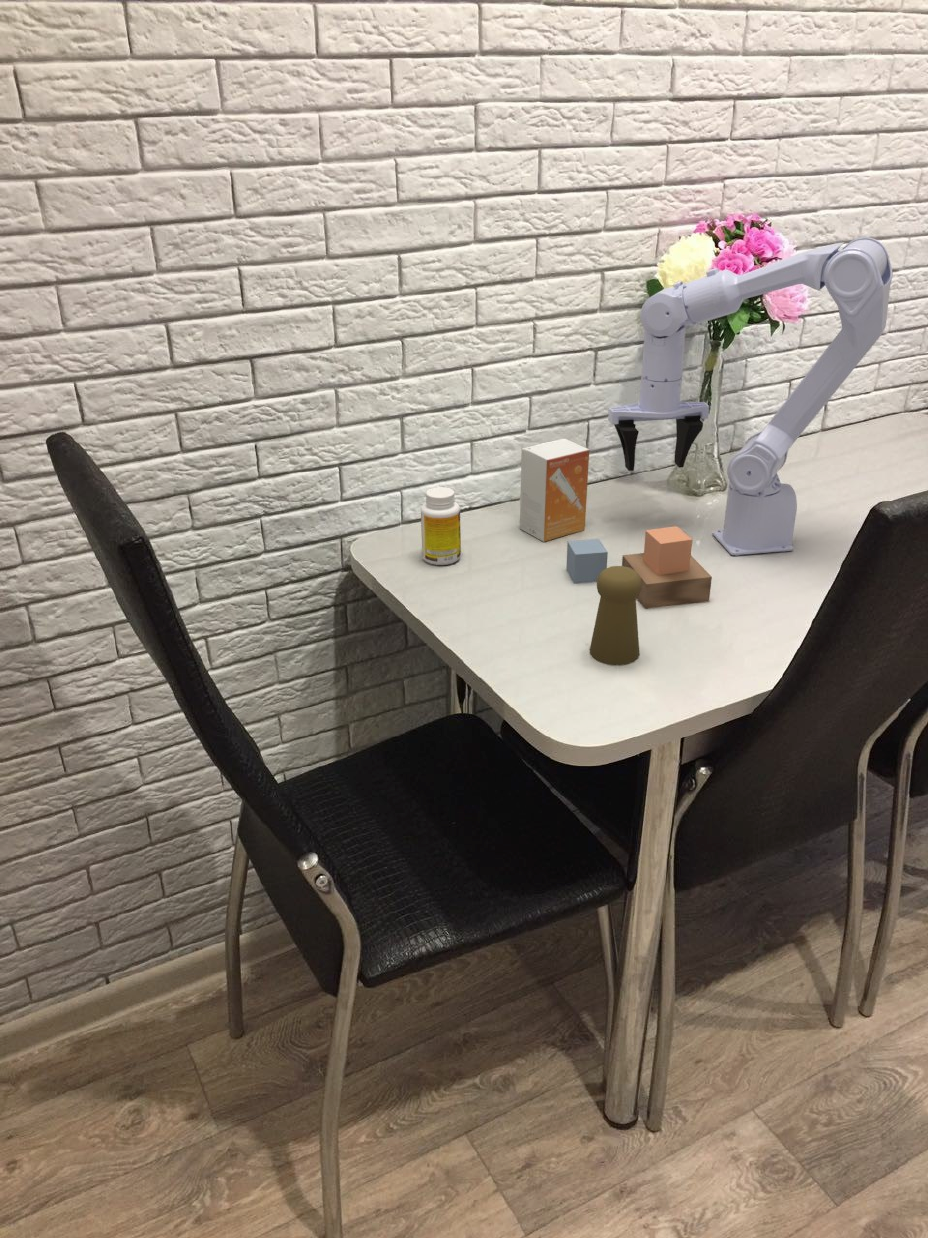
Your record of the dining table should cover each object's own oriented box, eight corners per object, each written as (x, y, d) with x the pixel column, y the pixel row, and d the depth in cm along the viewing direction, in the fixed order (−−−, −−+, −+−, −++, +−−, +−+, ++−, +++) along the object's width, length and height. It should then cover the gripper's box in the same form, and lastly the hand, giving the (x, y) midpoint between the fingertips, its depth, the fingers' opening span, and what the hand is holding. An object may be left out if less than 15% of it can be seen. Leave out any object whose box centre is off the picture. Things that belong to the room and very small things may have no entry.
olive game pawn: (585, 641, 128) (589, 560, 122) (633, 638, 128) (639, 558, 123) (594, 666, 122) (599, 583, 117) (644, 664, 123) (651, 581, 117)
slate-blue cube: (597, 567, 146) (599, 538, 144) (605, 581, 142) (607, 552, 140) (566, 570, 145) (567, 540, 143) (574, 584, 141) (575, 554, 139)
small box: (544, 543, 153) (546, 459, 147) (518, 529, 158) (520, 447, 151) (586, 530, 157) (590, 448, 151) (560, 516, 162) (563, 436, 155)
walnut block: (682, 574, 144) (684, 548, 142) (708, 603, 137) (711, 576, 135) (620, 581, 143) (622, 555, 141) (644, 611, 135) (646, 584, 133)
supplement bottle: (466, 563, 147) (465, 496, 142) (429, 569, 146) (427, 502, 141) (453, 547, 152) (452, 482, 147) (417, 553, 150) (415, 487, 145)
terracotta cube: (673, 556, 140) (676, 526, 138) (689, 570, 136) (692, 539, 134) (643, 561, 139) (645, 530, 137) (658, 575, 135) (660, 543, 133)
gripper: (700, 366, 152) (691, 454, 158) (604, 371, 150) (599, 460, 156) (718, 379, 146) (708, 470, 152) (618, 385, 144) (612, 477, 150)
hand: (654, 466), depth 154 cm, fingers open, 7 cm apart
